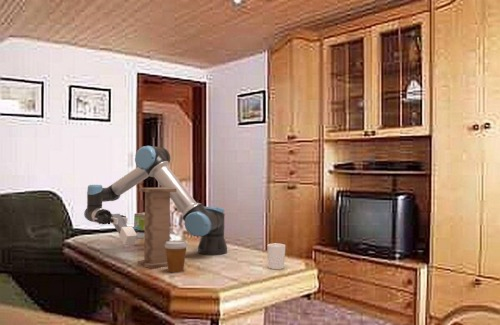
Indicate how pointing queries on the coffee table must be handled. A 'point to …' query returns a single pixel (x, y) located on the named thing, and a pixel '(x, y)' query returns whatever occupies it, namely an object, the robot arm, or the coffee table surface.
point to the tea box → (139, 224)
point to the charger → (125, 231)
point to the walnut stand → (156, 226)
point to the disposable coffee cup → (175, 255)
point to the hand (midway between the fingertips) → (121, 221)
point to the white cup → (276, 255)
